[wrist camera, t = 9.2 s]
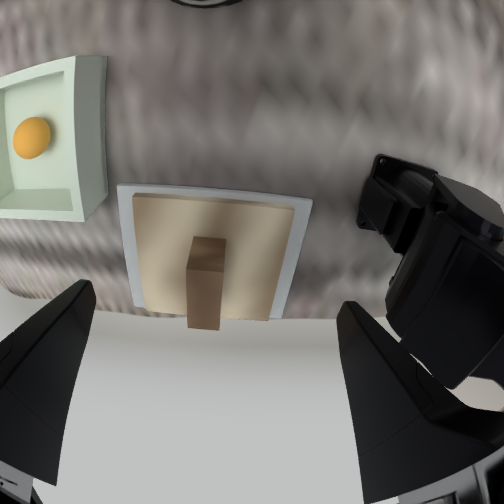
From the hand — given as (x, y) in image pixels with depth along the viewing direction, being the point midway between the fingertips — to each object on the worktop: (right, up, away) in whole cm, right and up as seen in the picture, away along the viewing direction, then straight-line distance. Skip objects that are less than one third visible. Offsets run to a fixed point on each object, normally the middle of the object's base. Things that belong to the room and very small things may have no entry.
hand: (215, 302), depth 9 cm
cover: (-2, +1, +15) cm, 15 cm away
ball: (-15, +10, +5) cm, 19 cm away
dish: (-15, +11, +7) cm, 20 cm away
